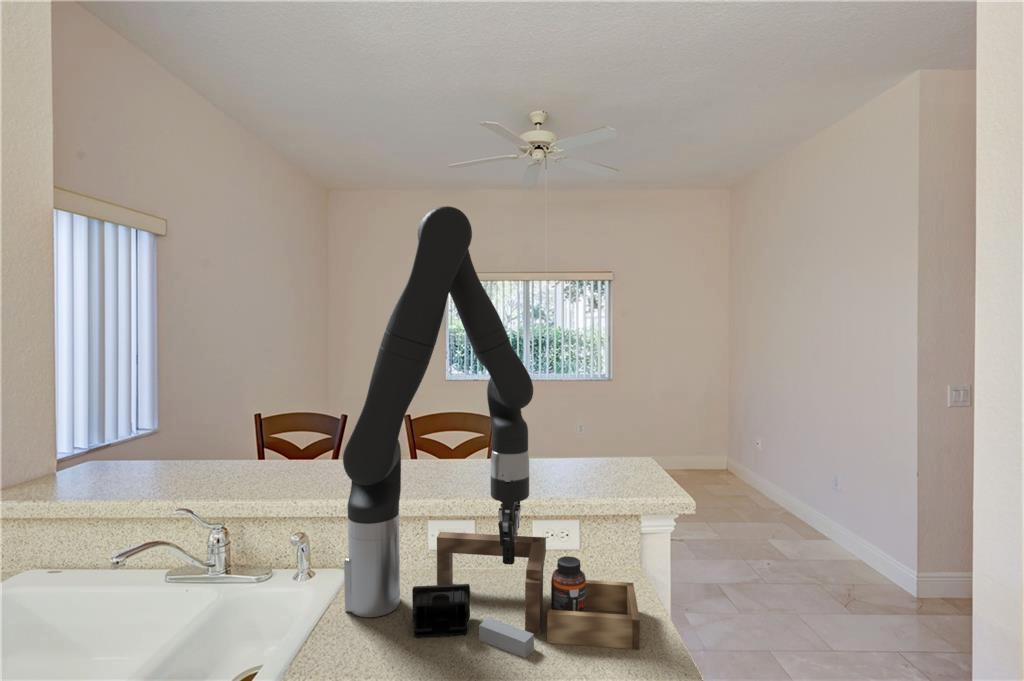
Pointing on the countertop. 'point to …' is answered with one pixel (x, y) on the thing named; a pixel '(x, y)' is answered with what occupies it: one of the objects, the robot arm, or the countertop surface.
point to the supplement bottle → (568, 586)
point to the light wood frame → (599, 618)
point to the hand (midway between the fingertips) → (509, 559)
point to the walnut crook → (491, 546)
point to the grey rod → (506, 637)
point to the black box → (441, 610)
